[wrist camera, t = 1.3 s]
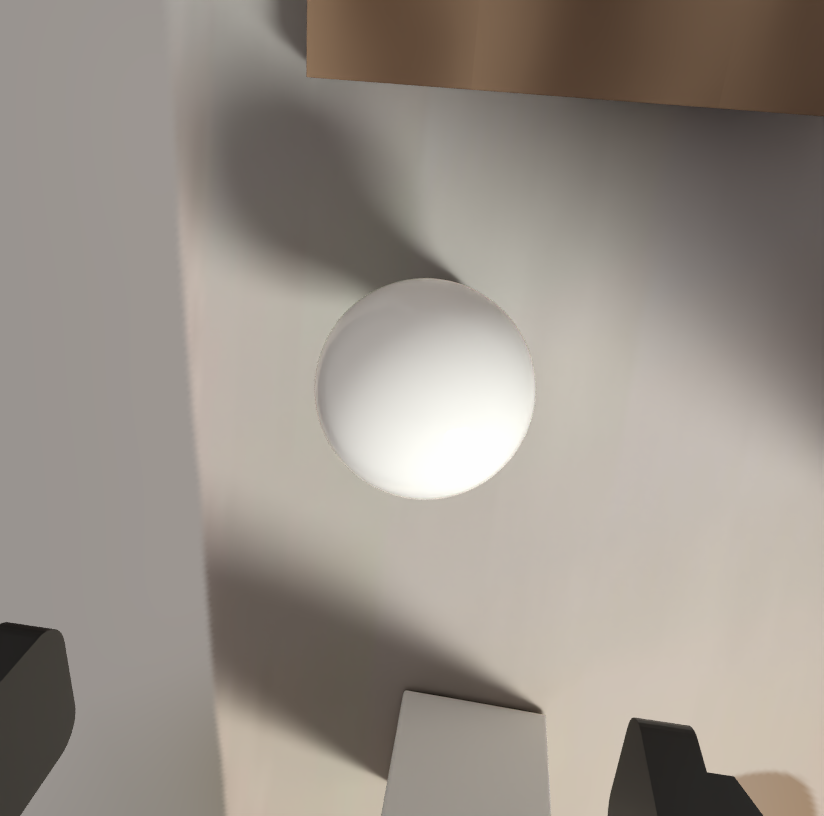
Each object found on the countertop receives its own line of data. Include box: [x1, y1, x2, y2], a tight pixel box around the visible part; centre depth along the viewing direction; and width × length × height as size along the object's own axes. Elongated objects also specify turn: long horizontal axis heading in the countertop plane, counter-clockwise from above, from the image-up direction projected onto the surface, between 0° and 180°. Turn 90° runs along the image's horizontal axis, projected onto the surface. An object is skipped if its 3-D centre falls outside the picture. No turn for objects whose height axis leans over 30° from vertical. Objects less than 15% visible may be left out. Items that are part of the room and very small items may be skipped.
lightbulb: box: [314, 278, 536, 500], centre depth 23 cm, size 6×6×11 cm
